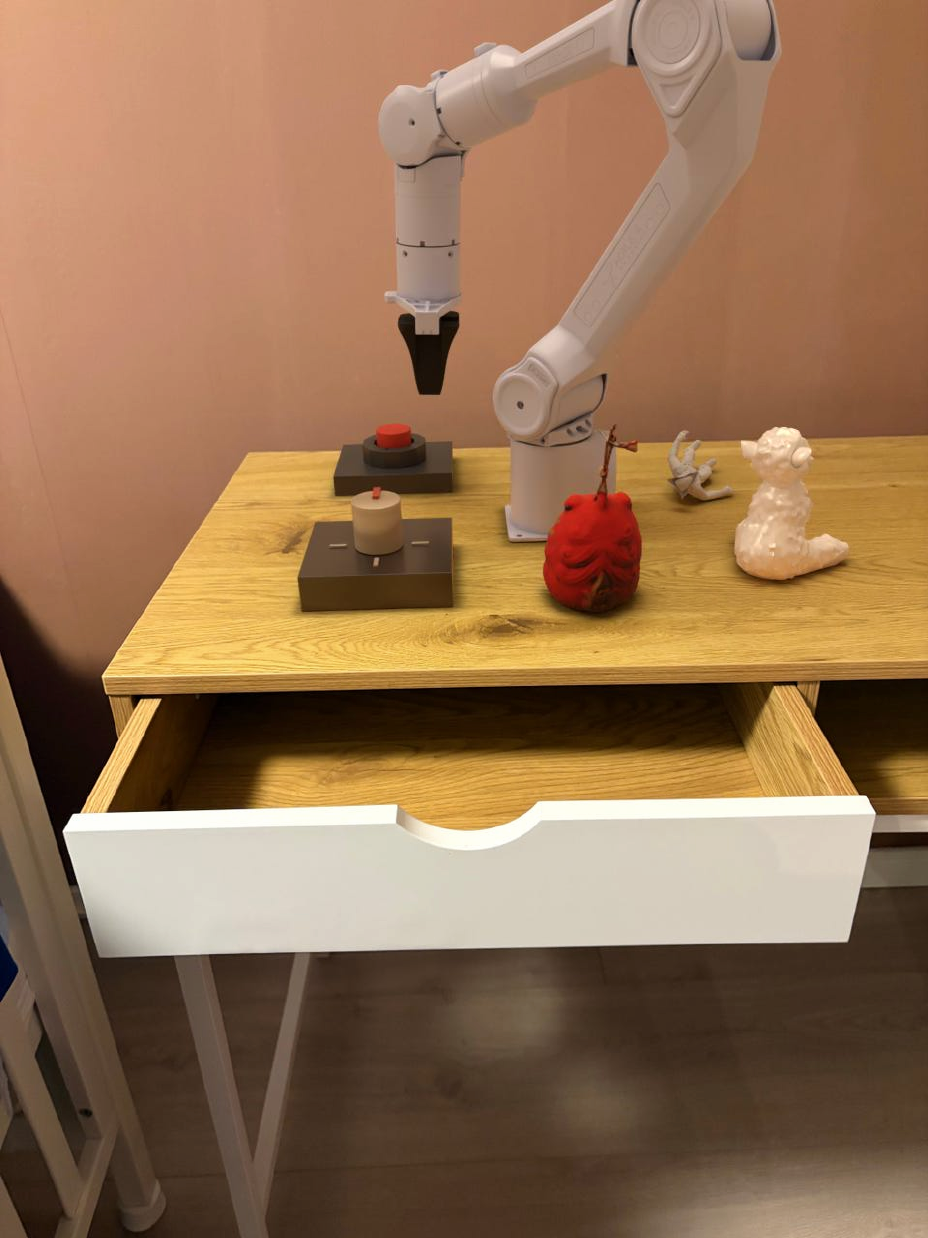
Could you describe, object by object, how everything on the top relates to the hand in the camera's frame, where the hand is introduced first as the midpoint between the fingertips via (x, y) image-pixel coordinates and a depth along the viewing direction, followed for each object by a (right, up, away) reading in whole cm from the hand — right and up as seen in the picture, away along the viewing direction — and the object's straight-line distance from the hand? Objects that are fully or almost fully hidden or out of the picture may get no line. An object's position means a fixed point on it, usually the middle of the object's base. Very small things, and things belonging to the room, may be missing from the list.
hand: (429, 392), depth 90 cm
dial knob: (-4, -16, -13) cm, 21 cm away
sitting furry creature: (+29, -17, -11) cm, 36 cm away
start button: (-4, -4, +8) cm, 10 cm away
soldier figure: (+26, -9, +4) cm, 28 cm away
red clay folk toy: (+13, -20, -16) cm, 29 cm away
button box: (-4, -7, +10) cm, 12 cm away
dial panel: (-4, -18, -11) cm, 22 cm away
